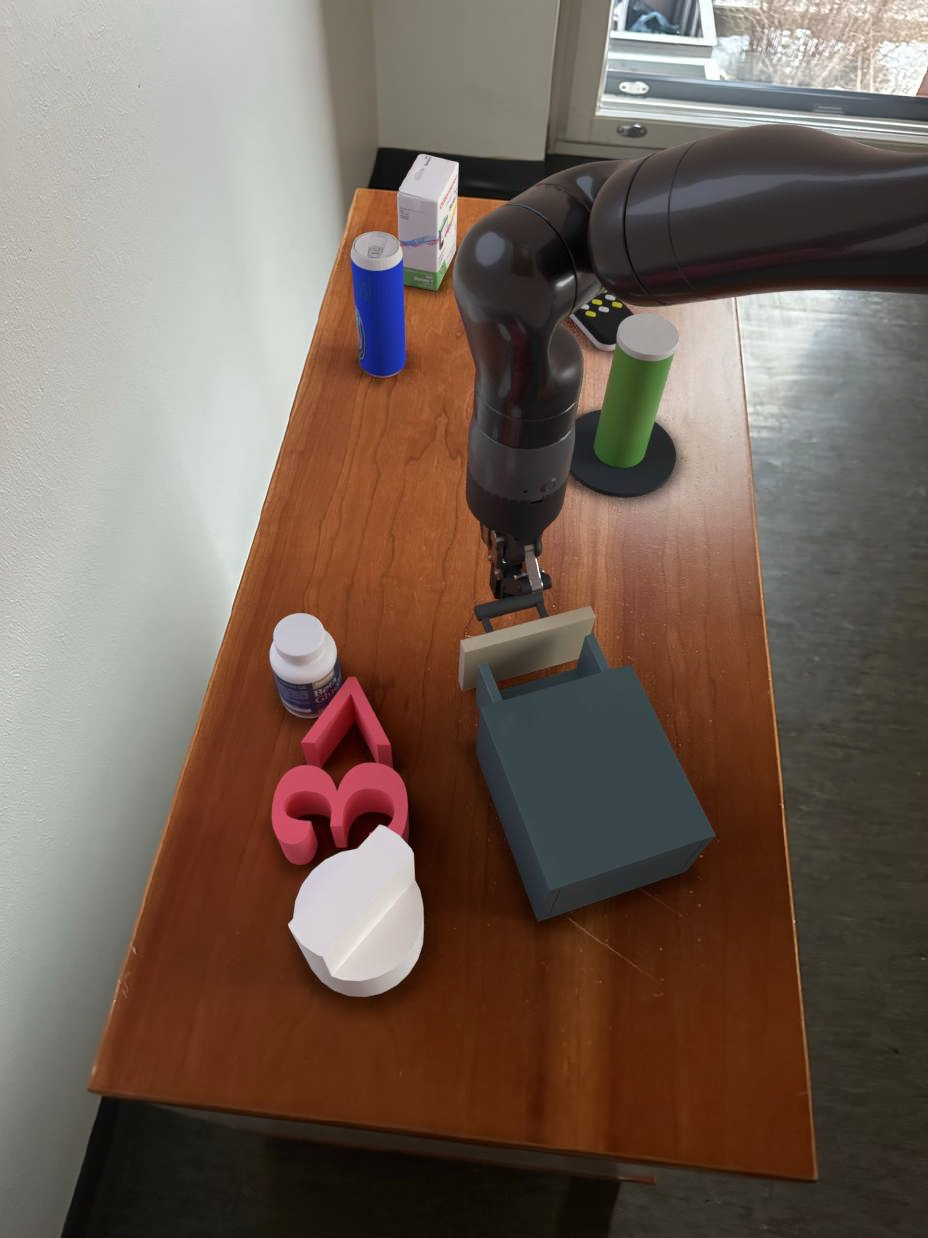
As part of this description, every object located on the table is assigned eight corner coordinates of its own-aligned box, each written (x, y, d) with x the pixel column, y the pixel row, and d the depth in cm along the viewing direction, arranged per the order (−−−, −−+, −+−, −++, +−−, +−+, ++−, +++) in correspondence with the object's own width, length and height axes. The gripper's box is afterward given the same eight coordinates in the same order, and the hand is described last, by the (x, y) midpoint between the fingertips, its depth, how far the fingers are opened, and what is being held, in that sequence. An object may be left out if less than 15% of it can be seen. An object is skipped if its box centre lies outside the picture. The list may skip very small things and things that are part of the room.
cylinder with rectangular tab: (361, 850, 70) (349, 793, 60) (448, 925, 68) (451, 879, 57) (278, 940, 67) (250, 896, 56) (367, 1025, 64) (355, 994, 54)
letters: (300, 702, 77) (292, 674, 73) (417, 707, 77) (416, 679, 73) (276, 864, 70) (266, 843, 65) (406, 869, 70) (404, 849, 65)
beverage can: (363, 346, 101) (354, 226, 89) (408, 350, 101) (405, 231, 89) (356, 378, 99) (345, 259, 86) (402, 382, 99) (398, 264, 86)
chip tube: (650, 436, 95) (684, 320, 82) (640, 474, 92) (674, 360, 79) (598, 424, 95) (624, 307, 83) (587, 461, 92) (612, 346, 80)
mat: (646, 402, 98) (647, 398, 98) (694, 482, 92) (696, 478, 92) (544, 425, 96) (544, 421, 95) (587, 508, 90) (588, 505, 89)
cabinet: (475, 753, 75) (480, 706, 68) (612, 712, 78) (631, 663, 70) (537, 922, 68) (550, 890, 61) (686, 871, 70) (715, 835, 63)
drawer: (443, 640, 80) (444, 598, 74) (561, 609, 82) (571, 565, 76) (511, 823, 71) (518, 791, 65) (641, 782, 73) (659, 747, 68)
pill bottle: (327, 729, 76) (314, 673, 68) (270, 708, 77) (251, 651, 69) (353, 676, 79) (344, 617, 70) (298, 657, 80) (282, 596, 71)
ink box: (437, 292, 107) (438, 201, 97) (398, 284, 108) (395, 192, 98) (457, 250, 111) (460, 158, 101) (419, 242, 112) (418, 150, 102)
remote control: (601, 356, 102) (604, 342, 100) (544, 291, 108) (546, 277, 106) (646, 340, 104) (650, 326, 102) (587, 277, 109) (590, 262, 108)
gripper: (442, 404, 67) (440, 544, 82) (500, 539, 60) (487, 664, 75) (535, 384, 68) (517, 525, 83) (602, 513, 62) (570, 642, 77)
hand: (503, 591), depth 79 cm, fingers closed
